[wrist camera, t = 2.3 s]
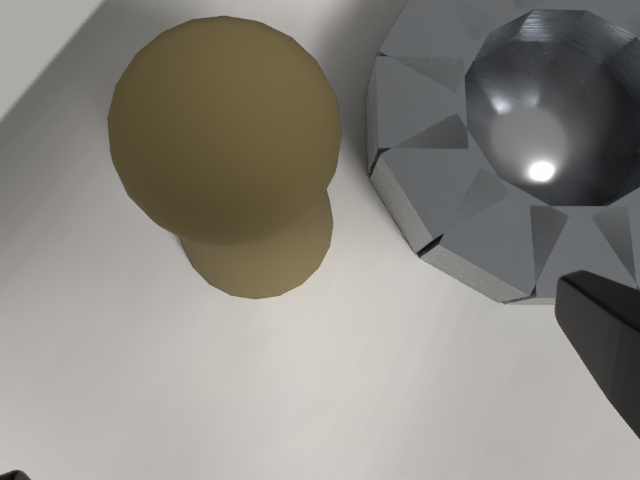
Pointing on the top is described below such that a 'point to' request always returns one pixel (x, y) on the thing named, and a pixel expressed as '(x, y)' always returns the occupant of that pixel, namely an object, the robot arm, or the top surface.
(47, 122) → the top surface
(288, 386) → the top surface
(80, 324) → the top surface
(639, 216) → the ring
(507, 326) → the top surface
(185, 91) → the cork
